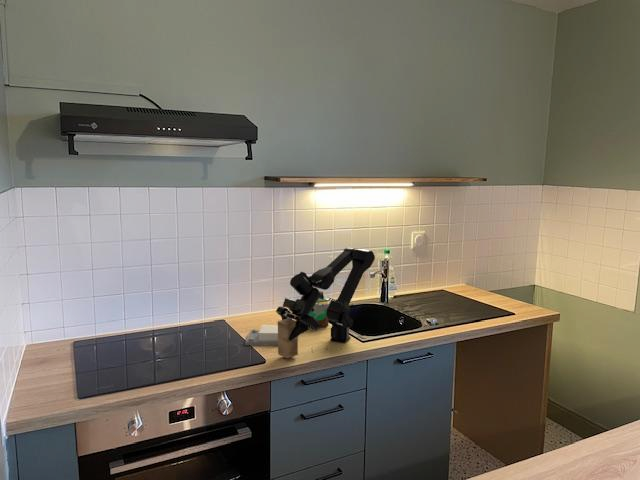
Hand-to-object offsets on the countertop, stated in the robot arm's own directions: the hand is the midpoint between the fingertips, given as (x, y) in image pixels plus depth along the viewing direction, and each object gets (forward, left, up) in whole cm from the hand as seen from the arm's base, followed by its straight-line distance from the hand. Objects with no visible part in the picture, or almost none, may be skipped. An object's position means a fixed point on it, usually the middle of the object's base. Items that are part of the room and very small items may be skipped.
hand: (284, 337), depth 178 cm
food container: (+4, -38, -8) cm, 39 cm away
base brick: (+13, -16, -8) cm, 22 cm away
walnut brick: (-1, -1, -7) cm, 7 cm away
